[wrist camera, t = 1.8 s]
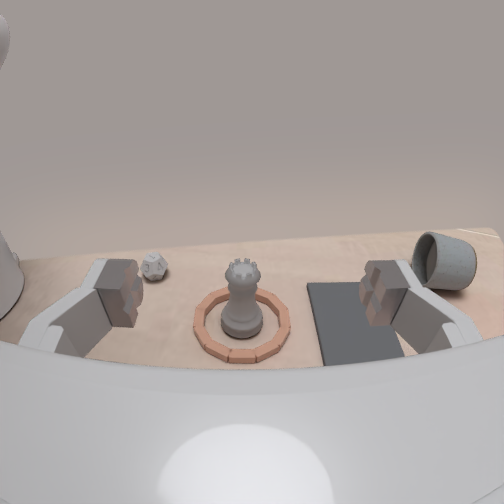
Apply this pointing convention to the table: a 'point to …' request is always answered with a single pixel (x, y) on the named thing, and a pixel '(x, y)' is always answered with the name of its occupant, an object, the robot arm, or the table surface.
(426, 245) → the ceramic mug
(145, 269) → the game die
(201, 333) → the terracotta ring
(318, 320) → the charcoal mat
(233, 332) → the rook chess piece
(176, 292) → the table surface
